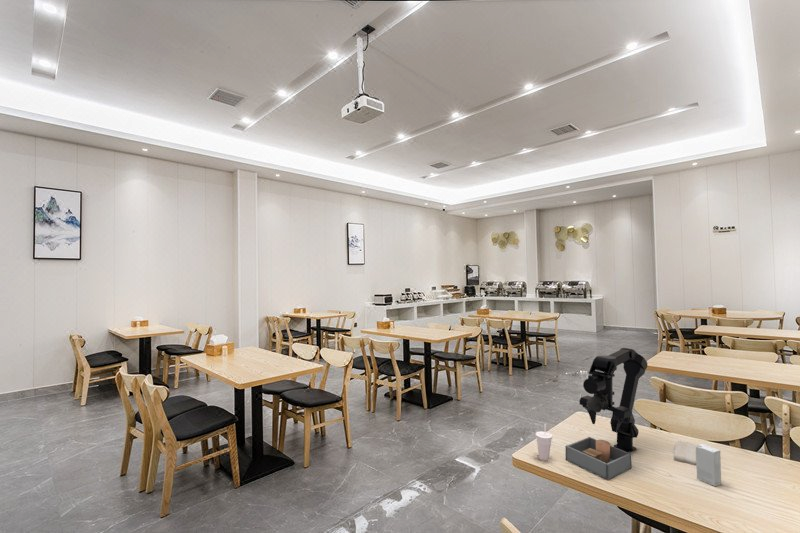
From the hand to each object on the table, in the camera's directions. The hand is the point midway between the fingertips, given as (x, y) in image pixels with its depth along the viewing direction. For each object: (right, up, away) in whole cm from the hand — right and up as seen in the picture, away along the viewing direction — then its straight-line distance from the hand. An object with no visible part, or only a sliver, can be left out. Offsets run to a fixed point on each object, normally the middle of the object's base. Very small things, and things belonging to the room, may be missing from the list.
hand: (604, 427), depth 160 cm
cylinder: (-2, -12, -2) cm, 12 cm away
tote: (-5, -13, -4) cm, 14 cm away
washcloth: (+37, -13, +2) cm, 39 cm away
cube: (-8, -12, -6) cm, 15 cm away
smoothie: (-24, -13, +1) cm, 27 cm away
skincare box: (+29, -13, -16) cm, 35 cm away
